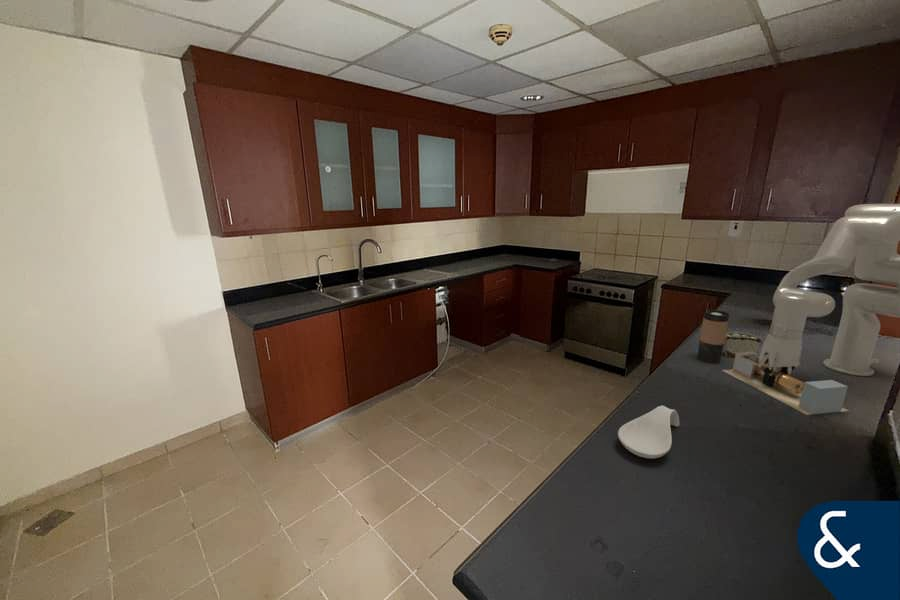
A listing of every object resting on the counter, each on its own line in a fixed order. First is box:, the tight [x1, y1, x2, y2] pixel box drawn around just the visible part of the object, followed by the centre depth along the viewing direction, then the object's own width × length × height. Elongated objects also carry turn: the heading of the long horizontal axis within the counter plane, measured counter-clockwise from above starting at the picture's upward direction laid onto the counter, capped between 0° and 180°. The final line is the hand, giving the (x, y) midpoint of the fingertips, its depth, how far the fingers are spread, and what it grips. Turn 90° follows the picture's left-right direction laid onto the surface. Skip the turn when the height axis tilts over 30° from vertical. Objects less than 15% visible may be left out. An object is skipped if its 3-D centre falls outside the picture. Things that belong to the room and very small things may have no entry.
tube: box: [746, 358, 805, 394], centre depth 119 cm, size 18×4×4 cm, turn 6°
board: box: [722, 368, 850, 416], centre depth 118 cm, size 14×29×1 cm, turn 6°
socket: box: [799, 379, 849, 415], centre depth 105 cm, size 9×4×8 cm, turn 96°
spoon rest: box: [617, 405, 680, 460], centre depth 95 cm, size 24×12×7 cm, turn 130°
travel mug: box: [697, 309, 730, 365], centre depth 138 cm, size 8×8×20 cm
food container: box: [724, 331, 764, 359], centre depth 142 cm, size 12×6×10 cm, turn 71°
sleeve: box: [732, 352, 763, 380], centre depth 126 cm, size 7×7×7 cm
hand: (774, 384), depth 119 cm, fingers closed on tube, 4 cm apart
